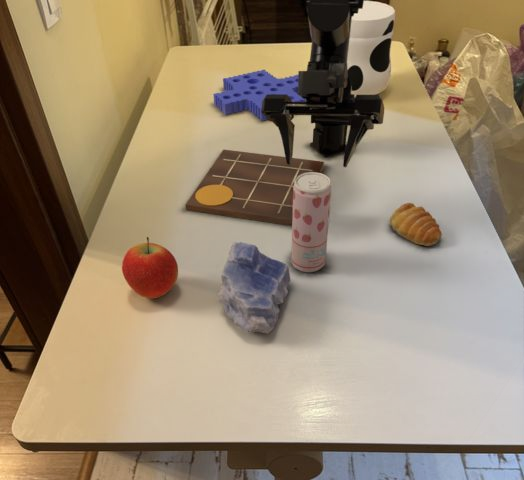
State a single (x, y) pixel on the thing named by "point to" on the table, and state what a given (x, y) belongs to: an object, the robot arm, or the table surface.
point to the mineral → (253, 288)
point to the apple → (150, 269)
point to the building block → (254, 92)
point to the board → (251, 186)
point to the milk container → (370, 48)
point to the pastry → (415, 225)
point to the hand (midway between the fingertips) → (316, 165)
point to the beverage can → (310, 221)
